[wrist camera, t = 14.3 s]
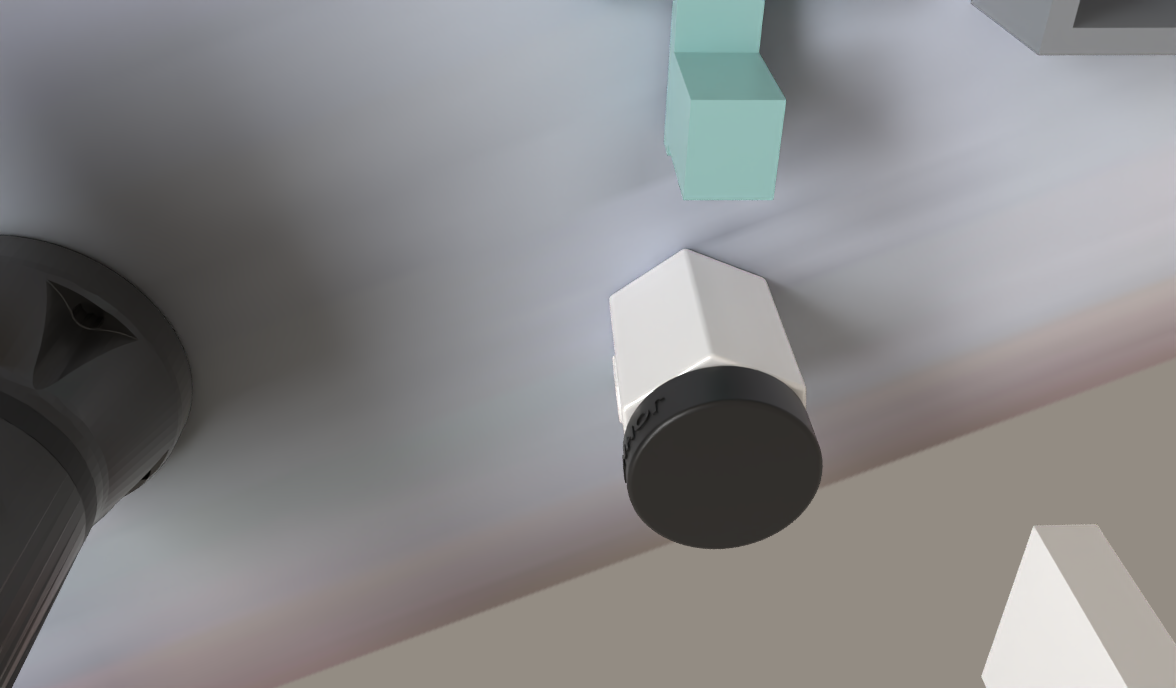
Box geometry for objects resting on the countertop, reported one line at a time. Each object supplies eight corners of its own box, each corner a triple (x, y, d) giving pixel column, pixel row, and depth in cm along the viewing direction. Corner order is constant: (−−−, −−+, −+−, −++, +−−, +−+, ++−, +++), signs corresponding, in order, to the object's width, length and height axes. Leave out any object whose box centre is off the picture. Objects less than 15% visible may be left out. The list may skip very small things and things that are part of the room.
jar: (599, 256, 49) (615, 405, 39) (767, 236, 49) (825, 381, 39) (617, 402, 54) (634, 568, 44) (769, 385, 54) (821, 547, 44)
